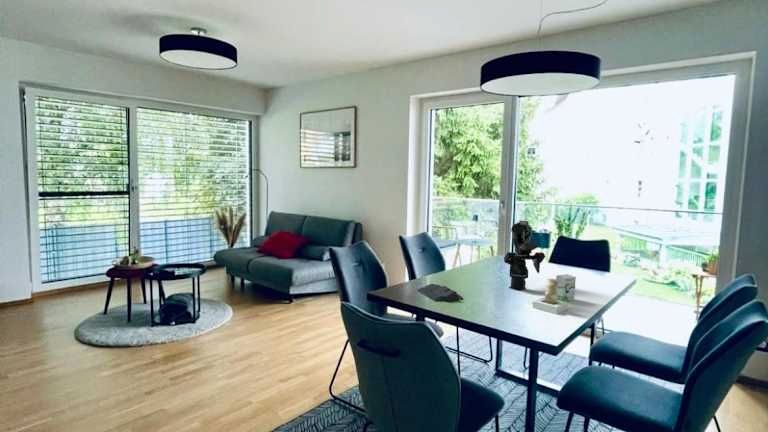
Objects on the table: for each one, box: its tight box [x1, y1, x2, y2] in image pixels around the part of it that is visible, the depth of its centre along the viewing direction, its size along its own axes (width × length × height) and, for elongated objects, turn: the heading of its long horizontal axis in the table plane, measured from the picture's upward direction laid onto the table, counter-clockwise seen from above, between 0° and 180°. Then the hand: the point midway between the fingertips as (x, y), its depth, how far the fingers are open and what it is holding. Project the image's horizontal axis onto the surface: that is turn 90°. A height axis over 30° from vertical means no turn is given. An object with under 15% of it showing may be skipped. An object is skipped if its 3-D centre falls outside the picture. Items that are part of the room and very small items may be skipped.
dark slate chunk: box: [417, 283, 464, 303], centre depth 206 cm, size 15×22×5 cm
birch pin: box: [544, 278, 558, 305], centre depth 190 cm, size 5×5×13 cm
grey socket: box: [532, 296, 569, 315], centre depth 190 cm, size 11×11×3 cm
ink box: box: [555, 274, 577, 302], centre depth 204 cm, size 9×5×12 cm, turn 120°
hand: (529, 272), depth 200 cm, fingers open, 9 cm apart
